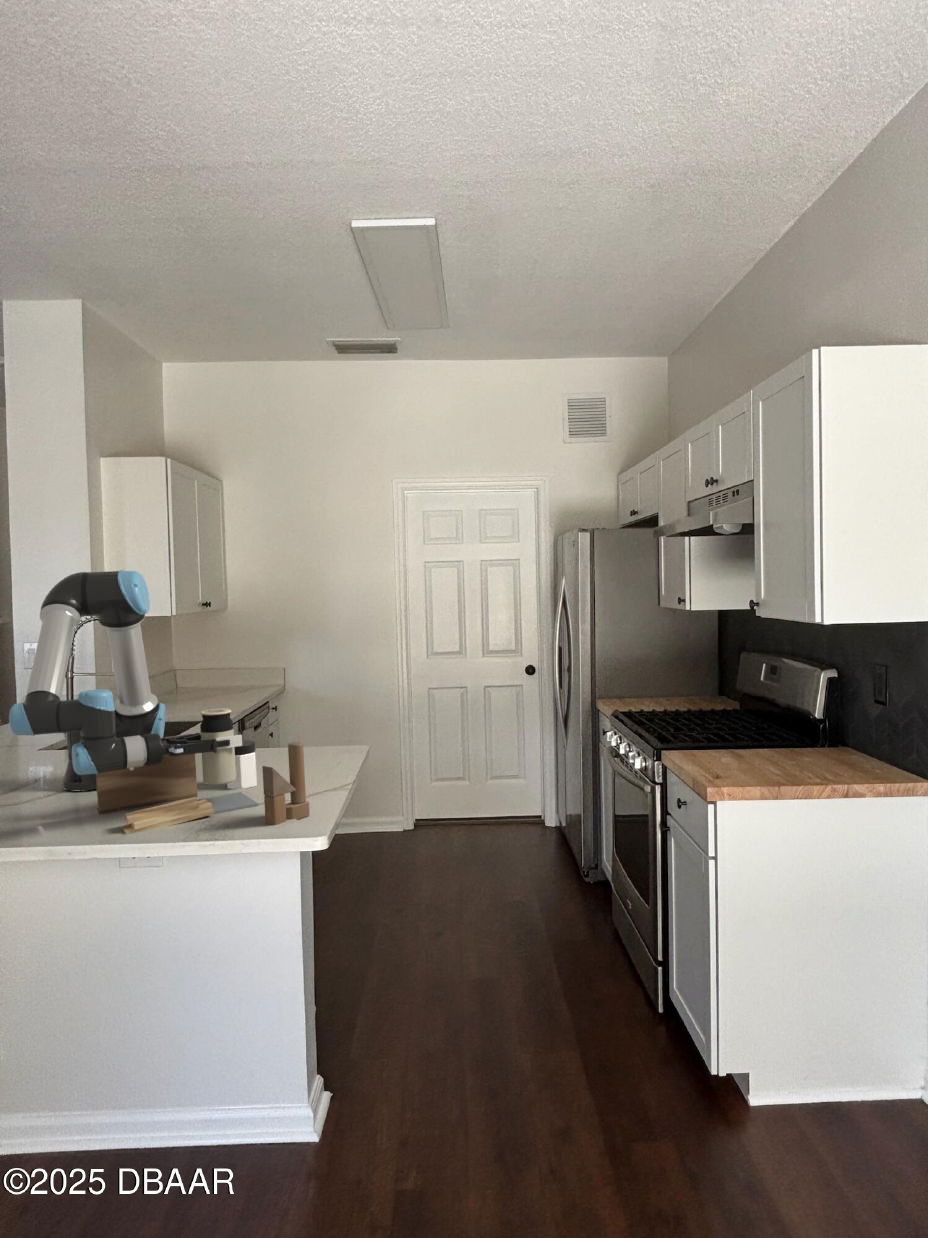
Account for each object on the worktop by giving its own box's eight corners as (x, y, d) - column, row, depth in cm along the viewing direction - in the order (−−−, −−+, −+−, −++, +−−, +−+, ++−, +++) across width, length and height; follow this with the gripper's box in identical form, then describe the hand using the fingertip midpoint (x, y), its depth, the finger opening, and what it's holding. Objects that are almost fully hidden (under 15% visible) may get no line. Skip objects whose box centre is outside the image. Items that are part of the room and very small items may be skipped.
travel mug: (218, 786, 205) (214, 714, 204) (196, 783, 210) (192, 712, 209) (242, 779, 212) (239, 709, 211) (221, 776, 216) (217, 707, 215)
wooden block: (264, 825, 194) (261, 749, 193) (300, 814, 202) (296, 740, 201) (275, 828, 192) (271, 751, 191) (310, 816, 200) (306, 742, 199)
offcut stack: (121, 831, 194) (119, 815, 193) (207, 809, 205) (205, 793, 204) (127, 837, 189) (124, 820, 189) (214, 814, 200) (212, 798, 199)
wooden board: (97, 813, 209) (92, 746, 208) (194, 796, 222) (190, 732, 221) (99, 816, 206) (95, 748, 205) (197, 799, 219) (193, 734, 218)
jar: (220, 788, 229) (217, 745, 228) (236, 781, 237) (234, 739, 236) (248, 790, 226) (246, 746, 226) (264, 782, 234) (262, 740, 234)
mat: (187, 806, 213) (186, 801, 213) (240, 796, 220) (240, 792, 220) (202, 819, 201) (202, 814, 201) (258, 808, 209) (258, 803, 209)
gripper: (135, 759, 209) (224, 746, 222) (153, 773, 192) (250, 758, 204) (133, 729, 209) (223, 718, 221) (152, 741, 192) (248, 728, 204)
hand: (236, 737), depth 213 cm, fingers closed on travel mug, 8 cm apart
